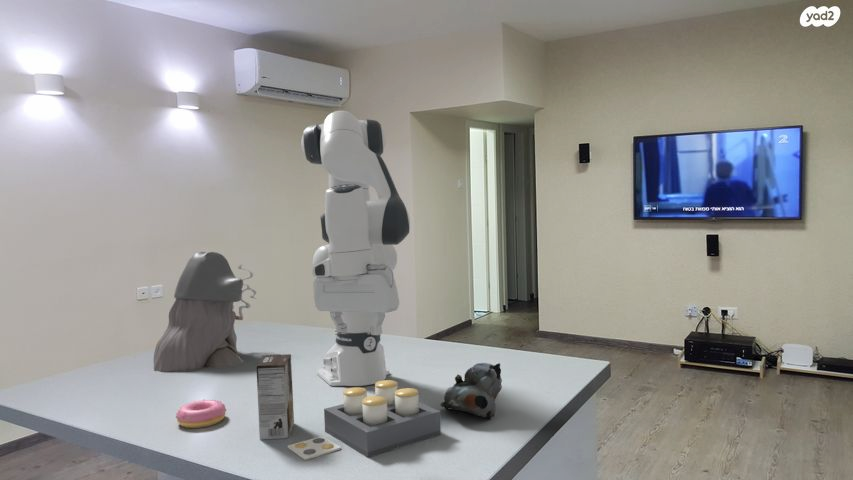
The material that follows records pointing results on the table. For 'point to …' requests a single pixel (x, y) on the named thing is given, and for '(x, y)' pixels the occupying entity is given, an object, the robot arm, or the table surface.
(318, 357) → the table surface
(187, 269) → the bust
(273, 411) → the coffee box
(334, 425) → the board
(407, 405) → the button
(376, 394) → the button
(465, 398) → the lucky cat figurine
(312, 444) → the card
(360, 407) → the button
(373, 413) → the button
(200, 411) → the doughnut
